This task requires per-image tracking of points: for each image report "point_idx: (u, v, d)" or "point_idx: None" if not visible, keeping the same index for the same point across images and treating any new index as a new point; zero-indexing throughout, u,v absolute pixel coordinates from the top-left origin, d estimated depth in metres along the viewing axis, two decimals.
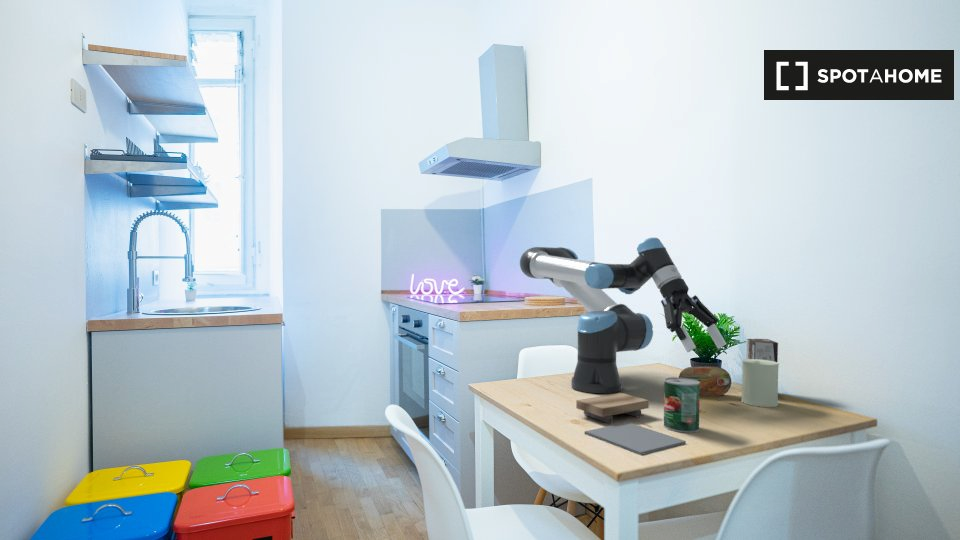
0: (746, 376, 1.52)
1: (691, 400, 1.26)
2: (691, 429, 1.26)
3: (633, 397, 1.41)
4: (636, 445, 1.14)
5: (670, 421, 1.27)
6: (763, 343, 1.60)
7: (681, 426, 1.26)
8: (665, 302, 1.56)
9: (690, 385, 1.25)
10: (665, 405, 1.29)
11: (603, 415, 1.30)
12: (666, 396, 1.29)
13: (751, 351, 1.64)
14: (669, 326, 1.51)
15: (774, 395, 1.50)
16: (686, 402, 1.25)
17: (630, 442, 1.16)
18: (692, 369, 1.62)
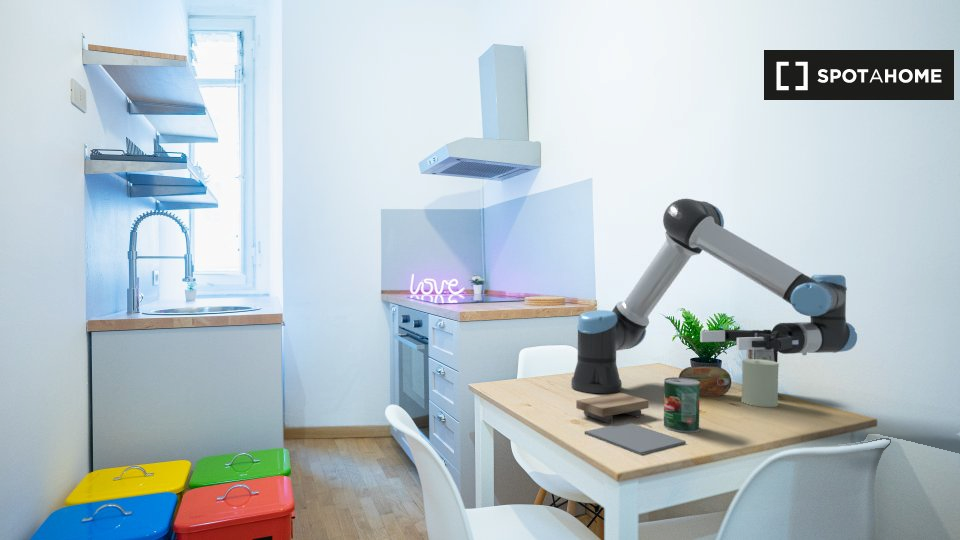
0: (746, 376, 1.52)
1: (691, 400, 1.26)
2: (691, 429, 1.26)
3: (633, 397, 1.41)
4: (636, 445, 1.14)
5: (670, 421, 1.27)
6: None
7: (681, 426, 1.26)
8: (794, 342, 1.28)
9: (690, 385, 1.25)
10: (665, 405, 1.29)
11: (603, 415, 1.30)
12: (666, 396, 1.29)
13: (751, 351, 1.64)
14: (777, 343, 1.23)
15: (774, 395, 1.50)
16: (686, 402, 1.25)
17: (630, 442, 1.16)
18: (693, 369, 1.62)
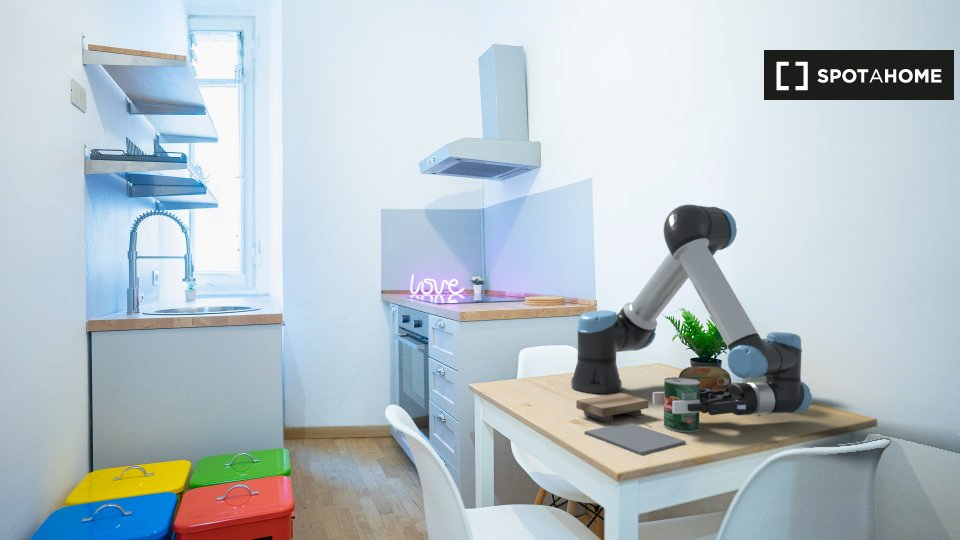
0: None
1: None
2: (691, 429, 1.26)
3: (633, 397, 1.41)
4: (636, 445, 1.14)
5: (670, 421, 1.27)
6: None
7: (681, 426, 1.26)
8: (740, 407, 1.25)
9: (690, 385, 1.25)
10: (665, 405, 1.29)
11: (603, 415, 1.30)
12: (666, 396, 1.29)
13: None
14: (712, 408, 1.23)
15: None
16: None
17: (630, 442, 1.16)
18: (693, 369, 1.62)
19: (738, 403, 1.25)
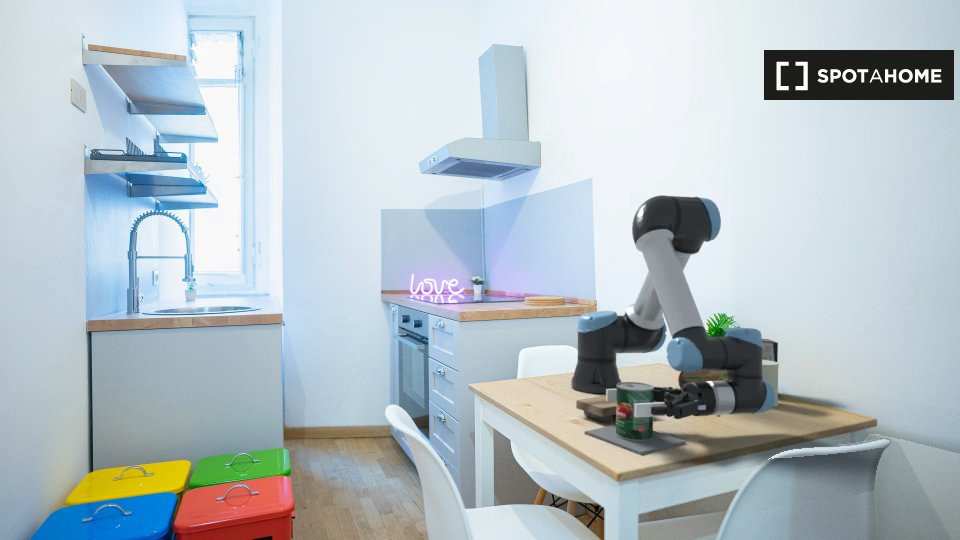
0: None
1: None
2: (643, 438, 1.17)
3: None
4: (636, 445, 1.14)
5: (622, 429, 1.19)
6: (763, 343, 1.60)
7: (633, 434, 1.17)
8: (701, 408, 1.16)
9: (642, 391, 1.17)
10: (617, 412, 1.20)
11: (603, 415, 1.30)
12: (618, 402, 1.20)
13: None
14: (677, 411, 1.12)
15: None
16: None
17: (630, 442, 1.16)
18: None
19: (699, 403, 1.16)
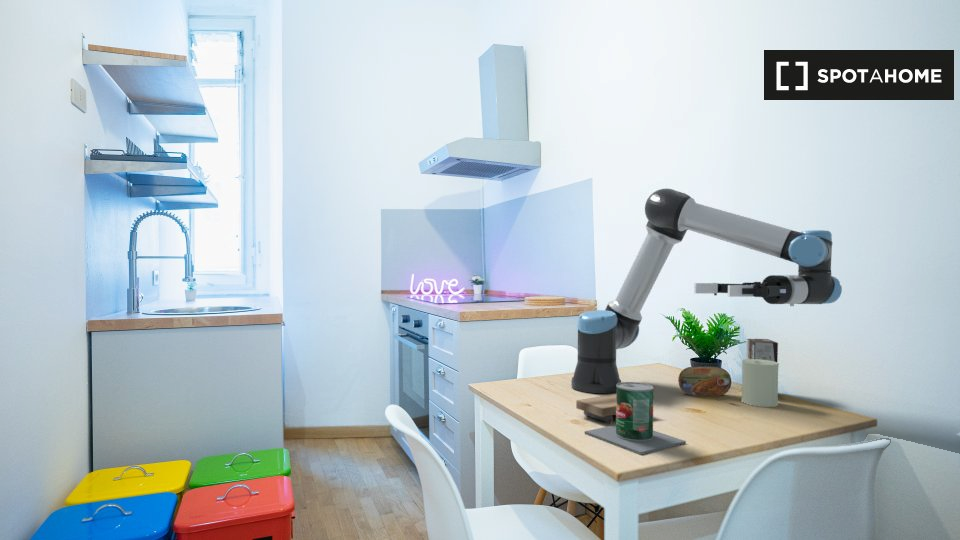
0: (746, 376, 1.52)
1: (643, 406, 1.17)
2: (643, 438, 1.17)
3: None
4: (636, 445, 1.14)
5: (622, 429, 1.19)
6: (763, 343, 1.60)
7: (633, 434, 1.17)
8: (782, 291, 1.36)
9: (642, 391, 1.17)
10: (617, 412, 1.20)
11: (603, 415, 1.30)
12: (618, 402, 1.20)
13: (751, 351, 1.64)
14: (765, 290, 1.32)
15: (774, 395, 1.50)
16: (638, 409, 1.17)
17: (630, 442, 1.16)
18: (693, 369, 1.62)
19: (781, 287, 1.36)
